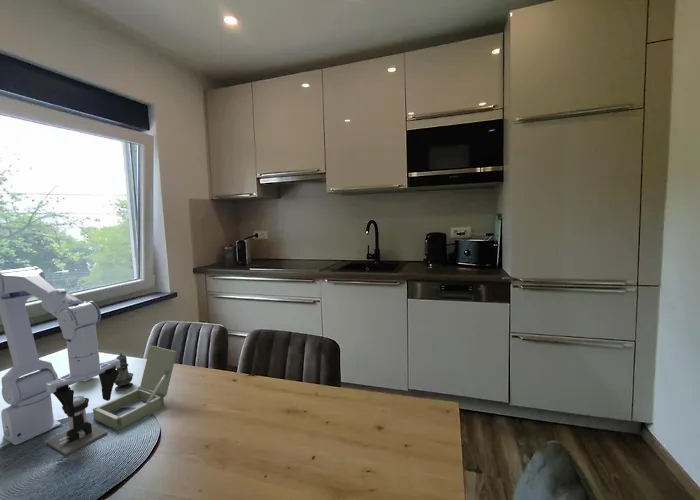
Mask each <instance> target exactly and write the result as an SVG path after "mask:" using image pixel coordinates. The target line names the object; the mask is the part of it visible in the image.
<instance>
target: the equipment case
mask: <svg viewBox="0 0 700 500" xmlns="http://www.w3.org/2000/svg"><path fill="white" fill-rule="evenodd" d="M176 357H177V350H173V349H168V348H163V347H159V346H156V345H150V346H149V349H148V354H147V357H146V362H145V366H144V370H143V373H142V377H141V381H140V384H139V386H138V387H137V388H136V389H134V390H131V391H130V392H128V393H126V394H122V395H121V396H119V397H117V398H114V399H112V400H109V401H106V402H105V403H103V404H101V405H99V406H96V407H94V408H92V412H93V420H94V421H97V422H99V423H101V424H104V425H105V426H108V427H110V428H112V429H114V430H116V431H119V430H121V429H123V428H125V427H127V426H128V425H130V424H132V423H134V422H136V421H138V420H140V419H142V418H144V417H146V416H148V415H149V414H152V413H153V412H155V411H157V410H160V409H161V408H163V407H164V406H165V400H164V398H165V397H167V395H168V390H169V387H170V382H171V379H172V378H171V377H172V374H173V369H174V367H175V366H174V365H175V361H176ZM139 400H140V401H143V402H145V403H142V405H139V406H137V407H135V408H133V409H132V410H129V411H128V412H126V413H123V414H121V415H120V416H118V415H115V414H113V412H115V411H118V410H120V409H121V408H124V407H125V406H128V405H130V404H132V403H134V402H137V401H139Z"/></svg>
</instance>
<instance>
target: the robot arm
mask: <svg viewBox="0 0 700 500" xmlns="http://www.w3.org/2000/svg"><path fill="white" fill-rule="evenodd" d="M34 297H35V298H36V299H38V300H40V301H41V302H40V303H41V307H42V308H43V310H45V311H46V312H47V313H50V314H51V315H52V316H53V317H55V318H56V319H57V323H58V325H59V326H58V327H59V328H60V330H61V332H62V333H61V334H62V337H63V338H64V339H65V340H66V349H67V357H68V366H69V373H67V374H65V375H62V376H60V377H59V375H58V373H57V371H56V370H55V368H54V366H53V364H52V362H50V361H46V360H42V359H40V358H39V357H40V356H39V353H38V351H37V346H36V342H35V338H34V334H33V333H34V332H33V331H32V330H33V329H32V326H31V321H30V318H29V315H28V310H27V307H26V303H27V302H28V300H29V299H31V298H34ZM101 317H102V313H101V309H100V307H99V306H98V304H96V303H95V301H93V300H90V301H86V300H84V301H82V300H80V299H79V298H78V297H76V296H75V295H73V294H71V292H69V291H67V290H66V289H65V288H55V287H54V286H53V285H51V284H50V283H49V282H48V281H47V280H46V277H45V273H44V270H42V269H41V268H40V267H38V266H37V265H36V266H35V265H34V266H30V267H22V268H15V269H14V268H13V269H5V270H4V269H3V270H0V318H1V321H2V326H3V329H4V334H5V338H6V342H7V346H8V350H9V353H10V357H11V362H12V364H13V366H12V367H11V368H10V369H9V370H8V371H7V372H6V373H5V374H4V375H3V376H2V378H1V396H2V398H3V401H4V402H5V403H6V404H8V405H9V406H7V407H5V408H3V409H2V410H1V413H0V414H1V417H0V418H1V424H2V430H3V431H2V432H3V435H2V438H3V439H5V440H6V441H8V442H10V443H11V444H12V445H14V446H17V445H20V444H22V443H25V442H26V441H28V440H31V439H33V438H35V437H37V436H39V435H42V434H45V433H46V432H48V431H50V430H52V429H54V428H57V427H60V426H61V425H62V424H61V422H60V421H58V420H56V419H55V418H54V412H53V403H52V394H53V395H54V396H55V397H56V399H58V401H59V402H60V403H61V405H62V406H63V407H64V409H65V411H66V414H65V415H66V416H67V417H68V416H69V417H73V416H74V414H75V412H74V405H73V397H74V394H75V390H73V389H71V387H70V386H71V385H75V384H77V383H80V382H83V381H82V380H85V379H88V378H91V379H93V378H95V377H97V376H98V377H99V381H100V387H101V396H102V399H103V400H104V401H106V402H110V401H111V397H112V393H113V392H112V391H113V388H114V385H115V383H114V382H115V380H116V378H117V376H118V375H119V371H118V370H117V368H120V360H117V359H116V358H114V359H112V360H108V361H104V362H100V352H99V345H98V334H97V332H98V331H97V324H99V322H100V321H101Z"/></svg>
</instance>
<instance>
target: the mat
mask: <svg viewBox="0 0 700 500" xmlns="http://www.w3.org/2000/svg"><path fill="white" fill-rule="evenodd" d="M91 427H92V432H91V433H90V434H86V435H85V436H84V437H82V438H79V439H77V440H75V441H73V442H69V441H68V442H65V443H64V442H63V441H65V440H67V438H66V439H64V440H62V438H64V437H65V436H66V432H63V433H61V434H60V435H57V436H55V437H53V438H51V439H49V440H46V442H45V443H46V444H47V445H48V446H50V447H52V449H55V450H56V451H58V452H60V453H61V454H63V455H64V456H68V455H69V454H72V453H73V452H76V451H77V450H79V449H81V448H83V447H85V446H88V445H89V444H90V443H92V442H94V441H97V440H98V439H101V438H102V437H104V436H105V435H108V431H106V430H104V429H103V428H100V427H98V426H96V425H94V424H92V423H91ZM60 439H61V440H62V441H60ZM61 442H63V444H60V443H61Z"/></svg>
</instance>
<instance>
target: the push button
mask: <svg viewBox="0 0 700 500" xmlns="http://www.w3.org/2000/svg"><path fill="white" fill-rule="evenodd" d="M89 399H90V398H88V397H85V396H84V395H78V396H73V405H74V412H75V414H74V416H73V417H69V416H67V420H68V422H67V423H68V428H67V430H66V431H65V433H66V436H65V437H64V438H62V440H64V439H66V438H67V440H65V441H63V442H64V443H65V442H68V441H69V442H73V441H75V440H77V439H79V438H82V437H84V436H85V435H86V434H90V433H91V432H92V427H91V424H92V423H91V422H89V420H88V419H87V412H86V409H87V408H88V407H89V402H90V400H89ZM61 409H62V411H63V413H64V414H65V415H67V414H66V411H65V409H64V407H63V405H62V406H61ZM62 440H61V439H60V441H62ZM63 442H61V443H60V444H63Z"/></svg>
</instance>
